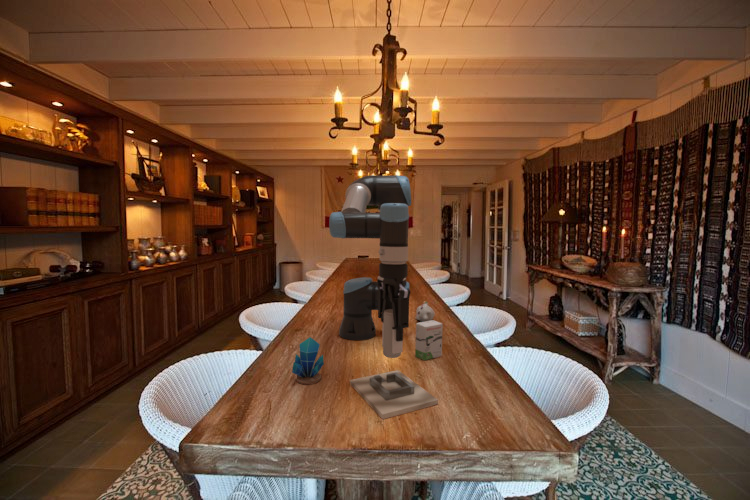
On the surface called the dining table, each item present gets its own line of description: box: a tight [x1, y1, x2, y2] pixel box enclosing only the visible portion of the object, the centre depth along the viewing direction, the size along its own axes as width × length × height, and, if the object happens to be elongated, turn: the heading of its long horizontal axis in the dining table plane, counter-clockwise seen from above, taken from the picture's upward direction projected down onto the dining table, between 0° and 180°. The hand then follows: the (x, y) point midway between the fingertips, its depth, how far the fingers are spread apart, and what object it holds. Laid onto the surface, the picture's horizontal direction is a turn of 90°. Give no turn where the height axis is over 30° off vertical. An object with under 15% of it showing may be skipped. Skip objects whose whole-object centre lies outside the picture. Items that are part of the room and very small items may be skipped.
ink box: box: [414, 319, 444, 361], centre depth 121 cm, size 9×5×12 cm, turn 124°
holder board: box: [349, 369, 439, 420], centre depth 94 cm, size 20×16×3 cm
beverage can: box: [382, 309, 402, 359], centre depth 93 cm, size 5×5×12 cm
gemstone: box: [291, 336, 325, 386], centre depth 102 cm, size 7×9×12 cm
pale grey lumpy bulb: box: [415, 300, 436, 322], centre depth 165 cm, size 10×8×15 cm
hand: (392, 348), depth 93 cm, fingers closed on beverage can, 5 cm apart
